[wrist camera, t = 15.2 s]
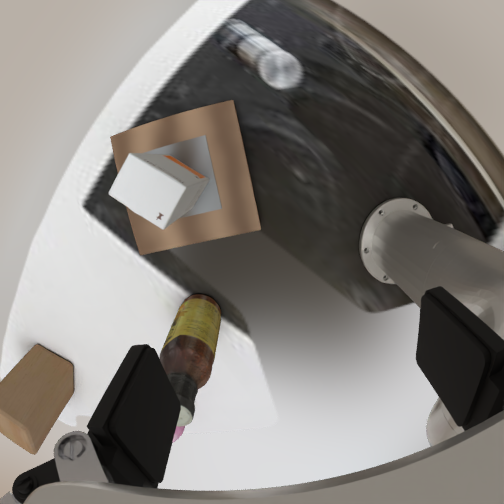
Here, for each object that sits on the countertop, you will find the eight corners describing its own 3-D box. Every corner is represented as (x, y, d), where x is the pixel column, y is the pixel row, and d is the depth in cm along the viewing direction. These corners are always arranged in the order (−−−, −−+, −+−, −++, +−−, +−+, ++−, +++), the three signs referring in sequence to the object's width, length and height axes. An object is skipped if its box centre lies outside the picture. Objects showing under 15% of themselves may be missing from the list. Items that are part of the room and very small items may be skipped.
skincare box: (211, 178, 34) (189, 188, 23) (192, 208, 35) (163, 232, 24) (168, 152, 33) (128, 151, 22) (151, 183, 34) (106, 195, 23)
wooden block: (39, 372, 49) (-5, 430, 30) (36, 340, 46) (-18, 399, 27) (75, 393, 50) (35, 458, 31) (74, 362, 47) (25, 432, 28)
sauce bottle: (178, 291, 42) (131, 383, 23) (221, 292, 42) (199, 391, 23) (183, 329, 44) (146, 428, 25) (223, 331, 44) (206, 435, 25)
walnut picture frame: (234, 104, 34) (232, 99, 31) (260, 224, 39) (261, 230, 36) (119, 137, 35) (109, 136, 32) (147, 248, 40) (139, 255, 37)
